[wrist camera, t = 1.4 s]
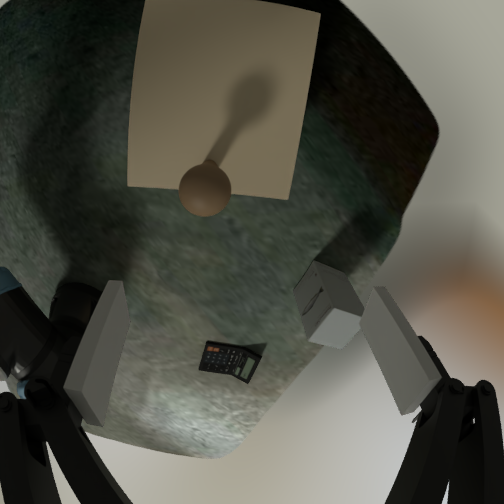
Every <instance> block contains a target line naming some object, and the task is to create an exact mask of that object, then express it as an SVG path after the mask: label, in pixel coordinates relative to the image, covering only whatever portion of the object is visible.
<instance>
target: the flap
mask: <svg viewBox="0 0 504 504" xmlns="http://www.w3.org/2000/svg"><path fill="white" fill-rule="evenodd" d="M320 16H321V13H317V12H313V11H309V10H305V9H300V8H296V7H291V6H286V5H281V4H276V3H270V2H264V1H257V0H145V5H144V10H143V15H142V20H141V26H140V32H139V38H138V44H137V51H136V58H135V65H134V74H133V83H132V93H131V105H130V118H129V137H128V186H132V187H150V188H167V189H179V197H180V200H181V202H182V204H183V206H184V207H185V208H186V209H187V210H188V211H189V212H191V213H193V214H195V215H198V216H211V215H214V214H217V213H218V212H220V211H221V210H222V209H224V208H225V206H226V205H227V203H228V202H229V200H230V197H231V194H239V195H249V196H259V197H268V198H276V199H285V200H288V197H289V192H290V187H291V182H292V177H293V172H294V167H295V161H296V156H297V151H298V145H299V140H300V135H301V129H302V124H303V118H304V112H305V107H306V101H307V95H308V90H309V84H310V78H311V72H312V66H313V60H314V54H315V48H316V41H317V35H318V29H319V22H320Z"/></svg>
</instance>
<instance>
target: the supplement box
mask: <svg viewBox="0 0 504 504" xmlns="http://www.w3.org/2000/svg"><path fill="white" fill-rule="evenodd" d="M293 293H294V296H295V299H296V303H297V306H298V309H299V313H300V316H301V319H302V323H303V326H304V329H305V333H306V336H307V339H308V341H310V342H314V343H318V344H322V345H326V346H330V347H334V348H338V349H343V348H344V347H345V346H346V345H347V344H348V343H349V342H350V341H351V339H352V338H353V337H354V336H355V335H356V334H357V333H358V332H359V330H360V329H361V327H360V325H359V322H360V320H361V317H362V315H363V312H364V310H365V309H364V307H363V305H362V303H361V302H360V300H359V298H358V296H357V294H356V292H355V290H354V289H353V287H352V285H351V283H350V281H349V280H348V278H347V276H346V274H345V273H344V272H341V271H339V270H337V269H334V268H332V267H329V266H327V265H325V264H322V263H320V262H317V261H315V260H314V261H313V262H312V264H311V265H310V267H309V269H308V270H307V272H306V273H305V275H304V276H303V278H302V279H301V280H300V282H299V283H298V285H297V286H296V287H295V289H294V290H293Z"/></svg>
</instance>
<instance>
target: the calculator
mask: <svg viewBox="0 0 504 504" xmlns="http://www.w3.org/2000/svg"><path fill="white" fill-rule="evenodd" d="M261 358H262V356H261V355H259V354H257V353H255V352H253V351H251V350H249V349H247V348H245V347H239V346H232V345H226V344H219V343H213V342H206V345H205V348H204V352H203V355H202V359H201V362H200V366H199V370H200V371H207V372H214V373H221V374H229V375H232V376H234V377H236V378H238V379H240V380H241V381H243V382H245V383H247V384H248V383H249V382H250V380H251V378H252V376H253V374H254V372H255V370H256V368H257V366H258V364H259V362H260V360H261Z"/></svg>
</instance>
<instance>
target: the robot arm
mask: <svg viewBox="0 0 504 504" xmlns="http://www.w3.org/2000/svg"><path fill="white" fill-rule="evenodd" d="M130 322H131V321H130V316H129V312H128V307H127V302H126V297H125V291H124V286H123V281H116V280H109V281H108V283H107V285H106V287H105V289H104V291H103V293H102V292H100V291H99V290H97V289H95V288H93V287H91V286H88V285H85V284H81V283H69V284H65V285H63V286H61V287H60V288H59V289H58V290H57V292H56V294H55V295H54V297H53V299H52V301H51V306H50V313H49V319H48V318H47V317H46V316H45V315H44V313H43V312H42V311H41V310H40V308H39V307H38V306H37V305H36V304H35V302H34V301H33V300H32V298H31V297H30V296H29V295H28V293H27V292H26V291H25V289H24V288H23V287H22V284H21V283H19V282H18V281H17V280H16V278H15V277H14V276H13V275H12V273H11V272H10V271H9V270H8V269H7V268H5V267H0V381H6V380H7V378H8V377H9V375H10V373H11V374H12V375H13V376H14V377H15V378H16V379H17V380H18V381H19V382H18V383H17V393H18V394H19V395H20V397H21V398H22V399H17V398H16V397H15V395H14V394H12V393H10V392H3V393H1V394H0V483H1V488H2V493H3V498H4V502H5V504H62V503H61V500H60V497H59V494H58V490H57V487H56V483H55V480H54V477H53V472H52V468H51V464H50V460H49V455H48V450H47V446H46V442H48V444H49V446H50V448H51V450H52V452H53V454H54V456H55V459H56V461H57V462H58V464H59V467H60V468H61V470H62V472H63V474H64V476H65V478H66V480H67V481H68V483H69V485H70V486H71V488H72V490H73V492H74V493H75V495H76V497H77V498H78V500H79V502H80V503H81V504H133V503H132V502H131V501H130V499H129V498H128V497H127V495H126V494H125V493H124V491H123V490H122V489H121V487H120V486H119V485H118V483H117V482H116V480H115V479H114V478H113V476H112V475H111V473H110V472H109V470H108V469H107V467H106V466H105V464H104V463H103V461H102V460H101V458H100V456H99V455H98V453H97V452H96V450H95V448H94V447H93V445H92V443H91V442H90V440H89V438H88V437H87V435H86V433H85V431H84V429H83V428H82V426H81V422H82V419H84V420H85V422H86V423H87V424H90V425H95V426H101V427H103V426H104V421H105V416H106V412H107V407H108V403H109V399H110V395H111V391H112V387H113V383H114V379H115V375H116V371H117V367H118V363H119V360H120V356H121V353H122V349H123V346H124V342H125V339H126V335H127V332H128V329H129V325H130ZM359 325H360V327H361V329H362V331H363V333H364V335H365V337H366V339H367V341H368V343H369V345H370V348H371V350H372V352H373V354H374V356H375V358H376V360H377V362H378V364H379V366H380V369H381V371H382V373H383V375H384V377H385V380H386V382H387V384H388V386H389V388H390V390H391V393H392V395H393V397H394V400H395V402H396V404H397V407H398V409H399V411H400V413H401V415H405V414H408V413H412V412H414V411H415V410H416V409H417V408H418V406H419V405H420V406H421V409H422V410H421V412H420V413H419V414H418V415H417V416H416V417H415V418H414V419H413V421H412V423H414V422H415V421H416V420H417V422H416V426H415V429H414V432H413V435H412V438H411V441H410V444H409V447H408V449H407V452H406V455H405V457H404V460H403V462H402V465H401V468H400V470H399V472H398V475H397V477H396V480H395V482H394V484H393V487H392V489H391V491H390V493H389V496H388V498H387V500H386V502H385V504H442V501H443V498H444V495H445V492H446V489H447V485H448V482H449V491H448V502H447V504H504V449H503V439H502V429H501V423H500V415H499V409H498V403H497V398H496V392H495V389H494V387H493V385H492V384H491V383H490V382H488V381H486V380H481V381H479V382H478V383H477V384H476V385H475V386H464V384H463V383H462V382H461V381H460V380H458V379H455V378H450V376H449V375H448V373H447V371H446V369H445V368H444V366H443V364H442V363H441V361H440V359H439V358H438V357H437V355H436V353H435V351H433V348H432V346H431V345H430V343H429V342H428V341H427V340H425V339H424V338H423V337H422V336H417V335H416V333H415V332H414V330H413V329H412V327H411V325H410V324H409V322H408V321H407V319H406V318H405V316H404V315H403V313H402V312H401V310H400V309H399V307H398V306H397V304H396V303H395V301H394V300H393V298H392V297H391V295H390V294H389V292H388V291H387V289H386V288H385V287H373V289H372V292H371V295H370V297H369V300H368V302H367V305H366V308H365V310H364V312H363V315H362V317H361V320H360V322H359ZM474 418H475V423H473V419H474Z"/></svg>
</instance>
